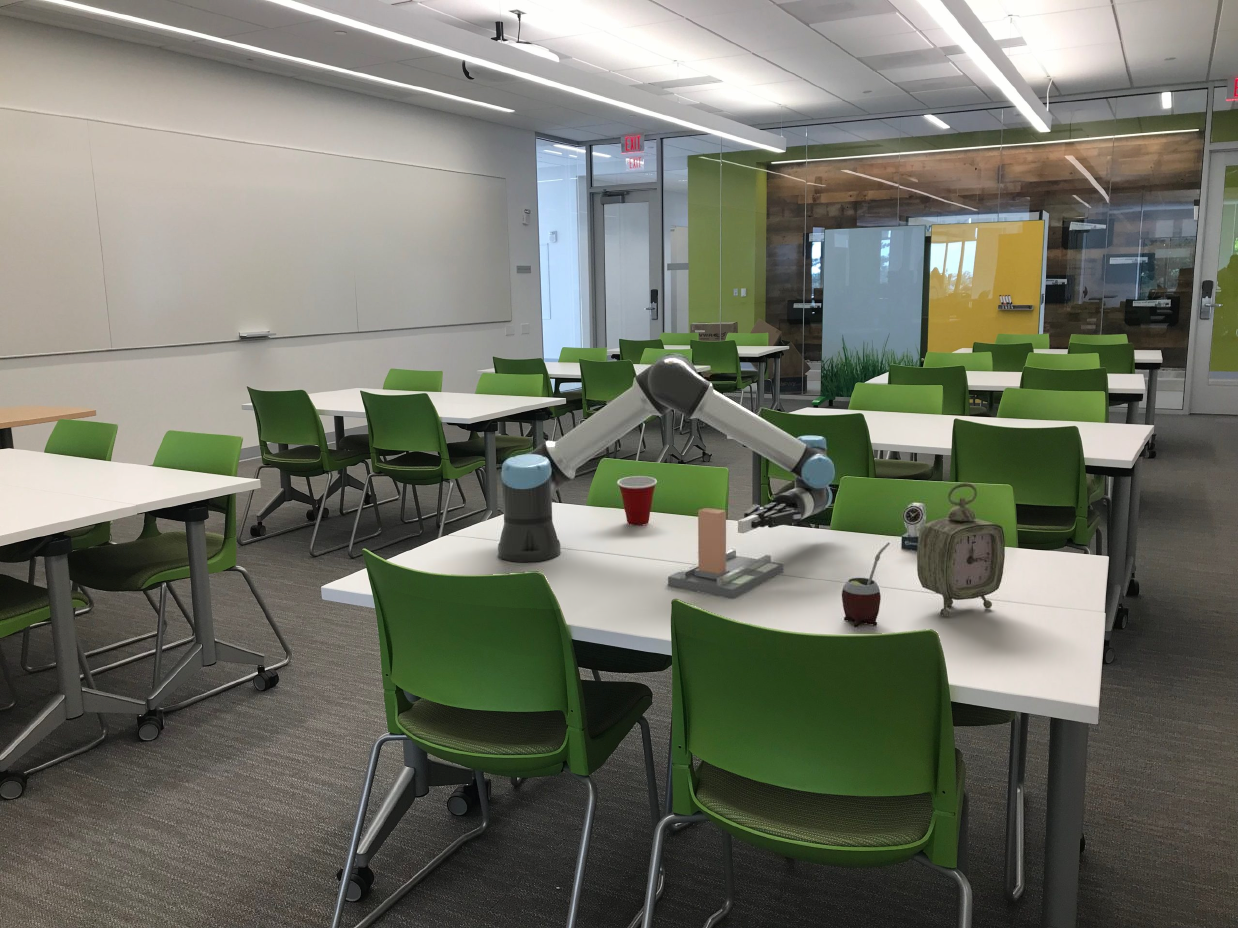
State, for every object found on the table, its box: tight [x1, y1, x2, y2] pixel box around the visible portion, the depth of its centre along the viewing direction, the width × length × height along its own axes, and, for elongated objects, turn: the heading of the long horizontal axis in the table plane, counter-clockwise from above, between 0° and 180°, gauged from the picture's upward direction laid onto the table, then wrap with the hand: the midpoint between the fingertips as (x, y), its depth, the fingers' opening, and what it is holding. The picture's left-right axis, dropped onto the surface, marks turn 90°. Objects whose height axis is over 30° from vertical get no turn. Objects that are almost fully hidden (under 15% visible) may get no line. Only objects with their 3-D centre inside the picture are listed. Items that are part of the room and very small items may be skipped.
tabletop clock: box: [916, 482, 1006, 618], centre depth 183 cm, size 14×9×25 cm, turn 114°
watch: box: [900, 502, 927, 552], centre depth 227 cm, size 6×8×11 cm
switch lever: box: [694, 507, 730, 580], centre depth 201 cm, size 6×4×14 cm, turn 53°
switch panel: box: [667, 548, 785, 600], centre depth 207 cm, size 16×22×4 cm
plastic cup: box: [616, 475, 658, 526], centre depth 257 cm, size 11×11×12 cm
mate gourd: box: [841, 541, 891, 628], centre depth 178 cm, size 8×8×15 cm
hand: (740, 527), depth 210 cm, fingers closed
